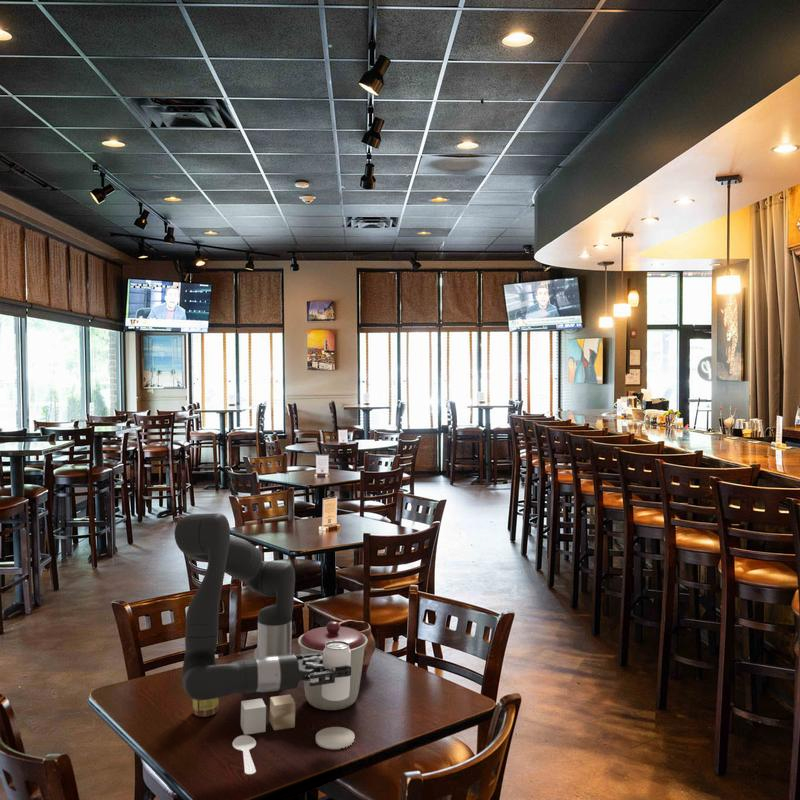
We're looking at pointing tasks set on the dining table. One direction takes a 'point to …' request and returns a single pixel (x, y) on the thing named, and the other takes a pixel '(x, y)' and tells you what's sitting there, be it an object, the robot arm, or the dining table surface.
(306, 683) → the canister
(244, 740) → the spoon
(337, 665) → the can
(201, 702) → the sauce bottle
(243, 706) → the white rectangular block
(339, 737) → the cream saucer
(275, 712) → the beech block
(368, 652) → the decorative planter
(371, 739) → the dining table surface
